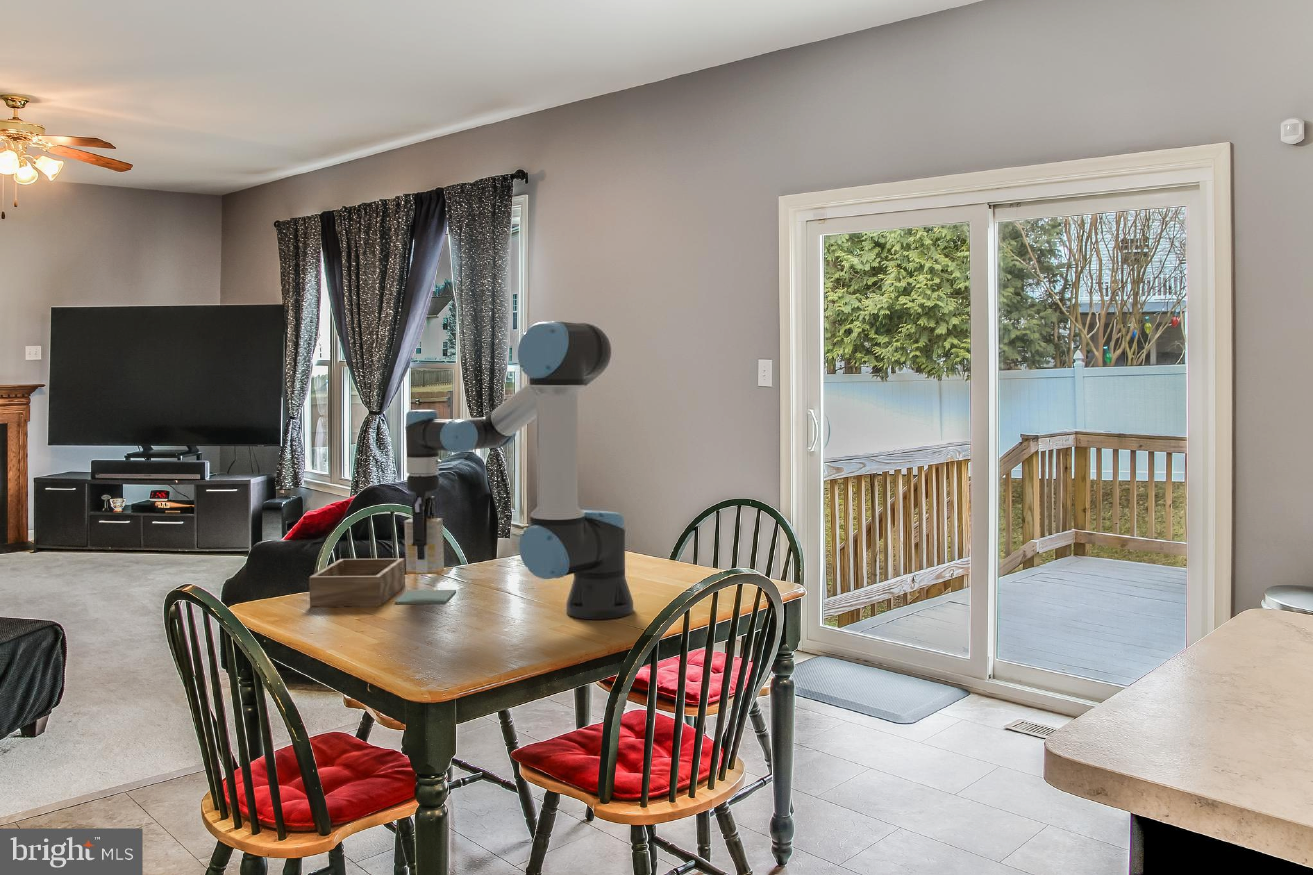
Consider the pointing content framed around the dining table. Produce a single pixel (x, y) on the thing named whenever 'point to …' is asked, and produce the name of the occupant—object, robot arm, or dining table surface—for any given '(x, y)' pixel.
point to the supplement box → (432, 541)
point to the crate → (357, 582)
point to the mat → (425, 597)
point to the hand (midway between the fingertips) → (425, 569)
